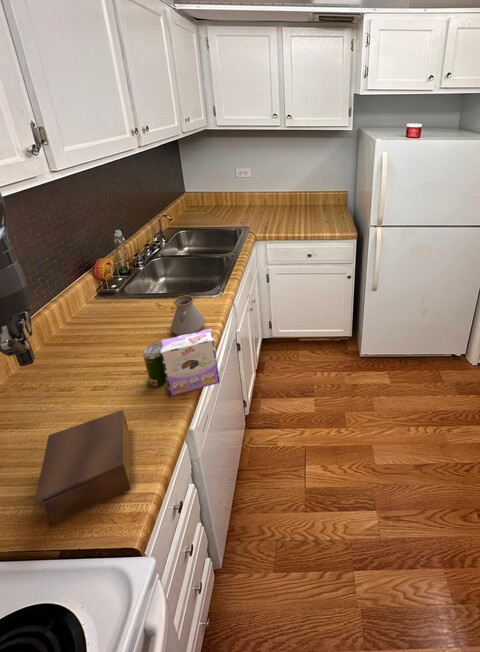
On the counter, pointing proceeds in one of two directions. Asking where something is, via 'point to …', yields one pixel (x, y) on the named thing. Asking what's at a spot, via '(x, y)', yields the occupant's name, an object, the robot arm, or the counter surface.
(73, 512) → the box
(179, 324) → the coffee pot
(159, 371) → the beer can
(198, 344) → the candy box
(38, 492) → the lid
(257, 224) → the counter surface
